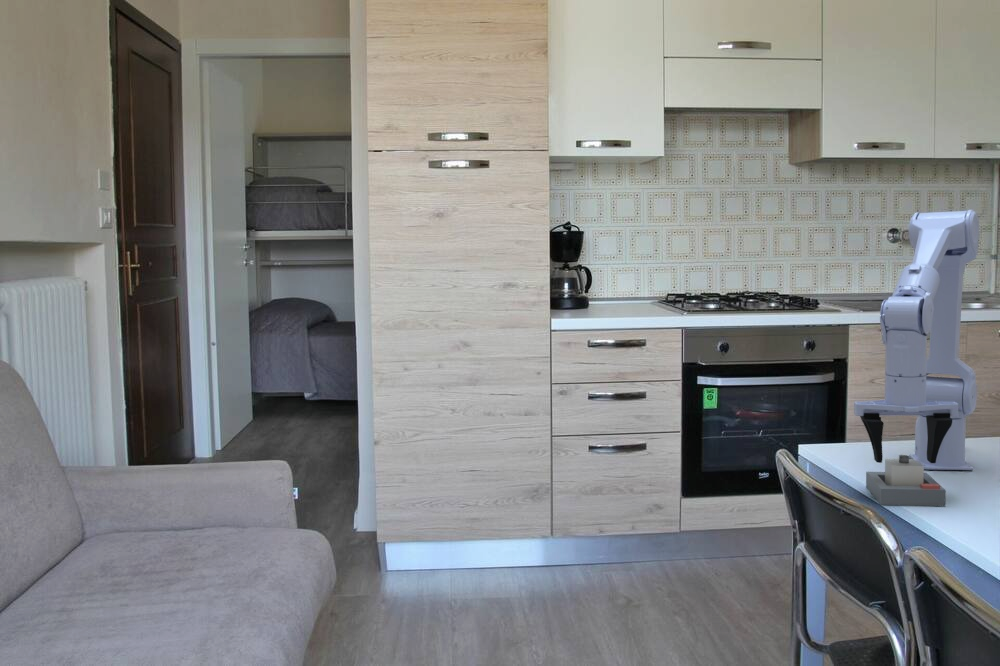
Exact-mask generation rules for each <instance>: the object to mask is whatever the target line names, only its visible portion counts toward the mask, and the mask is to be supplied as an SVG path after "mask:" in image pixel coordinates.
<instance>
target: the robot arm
mask: <svg viewBox="0 0 1000 666" xmlns="http://www.w3.org/2000/svg"><path fill="white" fill-rule="evenodd" d="M979 220H980V219H979V216H978V214H977V213H976V211H975V210H974V209H968V210H960V211H959V210H957V211H956V210H955V211H953V210H952V211H936V212H935V211H933V212H920V211H919V212H915V213H913V215H912V216H911V218H910V220H909V223H908V224H909V225H908V239H909V243H910V245H911V246H912V248H913V250H914V253H913V258H912V263H910V264H908V265H906V266H905V267H904V268H902V270H901V273H900V275H899V278H898V280H897V283H896V285H895V288H894V290H893V293H892V295H891V296H888V299H883V301H882V303H881V305H880V306H881V307H880V312H879V322H880V328H881V334H882V335H881V336H882V338H881V341H882V344H883V345H885V347H884V348H885V349H884V350H885V353H884V354H885V357H884V359H885V360H884V361H885V362H884V363H885V365H884V366H885V367H884V369H885V372H884V375H885V377H884V379H885V380H884V381H885V382H884V383H885V384H884V399H883V400H865V401H853V414H854V415H855V416H856V417H860V420H861V422H862V423H863V426H864V428H865V430H866V432H867V434H868V437H869V440H870V443H871V447H872V452H873V460H874V461H875V462H876V463H881V464H882V463H883V458H884V457H883V434H884V433H883V431H884V421H882V417H881V416H918V417H917V418H916V421H915V427H914V431H915V432H914V433H915V434H914V437H915V438H914V440H915V441H914V453H910V454H908V456H909V459H916V460H917V461H918V462H920V463H921V464H922V465H923V466H924V470H940V471H941V470H942V471H943V470H945V471H946V470H947V471H949V470H951V471H952V470H953V471H954V470H955V471H973V470H974V467H973V466H972V465H970V464H969V463H968V462H967V461H966V460H965V459H966V419H967V416H970V415H971V414H972V413H974V412H975V409H976V407H977V398H978V386H977V374H976V372H975V371H974V369H973V368H972V367H970V366H969V365H968V364H966V363H965V362H964V361H962V360H961V359H960V357H959V355H960V339H961V321H962V320H961V319H962V305H963V304H962V302H963V301H962V299H963V283H964V274H965V270H966V265H967V264H969V263H970V262H972V261H974V260H976V259H977V255H978V253H979V239H980V237H979V236H980V221H979ZM928 334H929V346H928V344H927V343H928ZM927 350H928V352H927ZM927 353H928V354H927ZM927 355H928V356H927ZM927 357H928V358H927ZM929 375H930V376H929ZM931 375H949V376H950V375H953V376H958V378H957V377H944V376H931Z"/></svg>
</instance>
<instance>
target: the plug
mask: <svg viewBox="0 0 1000 666" xmlns="http://www.w3.org/2000/svg"><path fill="white" fill-rule="evenodd" d="M924 470H925V469H924V466H923V465H922V464H921V463H920V462H918V461H917V460H916V459H912V458H910V457H909V455H906V454H900V455H898V458H884V472H885V484H886V485H887V486H920V484H923V476H924V473H925V472H924Z"/></svg>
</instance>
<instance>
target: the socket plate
mask: <svg viewBox="0 0 1000 666" xmlns="http://www.w3.org/2000/svg"><path fill="white" fill-rule="evenodd" d="M865 475H866V476H865V477H866V478H865V487H866V489H867V490H868V491H869V493H870V494H871V495H872V496H873V497H874V499H876V502H878V504H879V505H880V506H907V507H908V506H909V507H910V506H912V507H913V506H914V507H946V495H947V494H946V491H947V490H946V488H944V487H943V486H942V485H941V484H940V483H939V482H937V480H935V479H934V478H933V477H932V476H931V475H930V474H929V473H927V472H924V476H923V484H920V486H887V485H886V484H885V471H866V474H865Z"/></svg>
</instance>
